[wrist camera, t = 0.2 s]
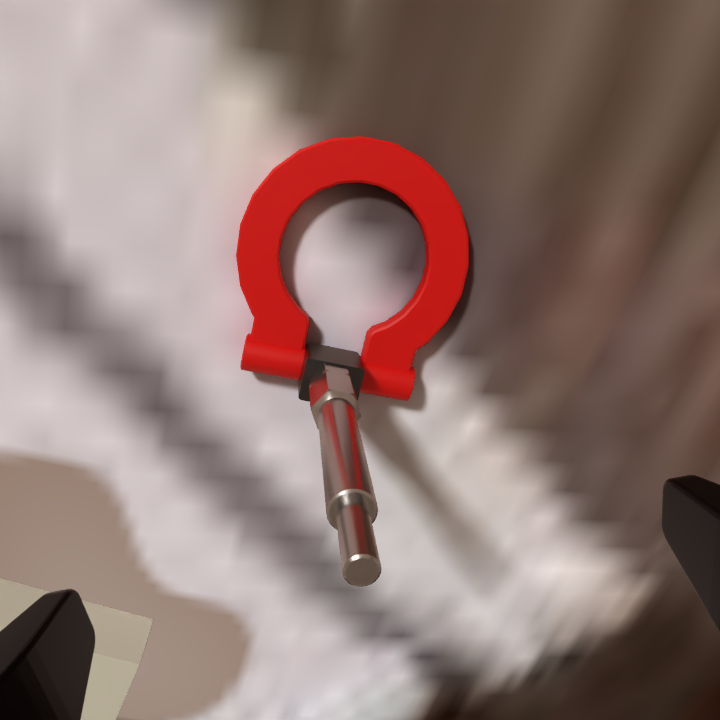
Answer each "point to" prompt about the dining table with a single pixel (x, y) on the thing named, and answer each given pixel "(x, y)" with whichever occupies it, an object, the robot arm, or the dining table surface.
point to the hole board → (111, 653)
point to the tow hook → (382, 342)
